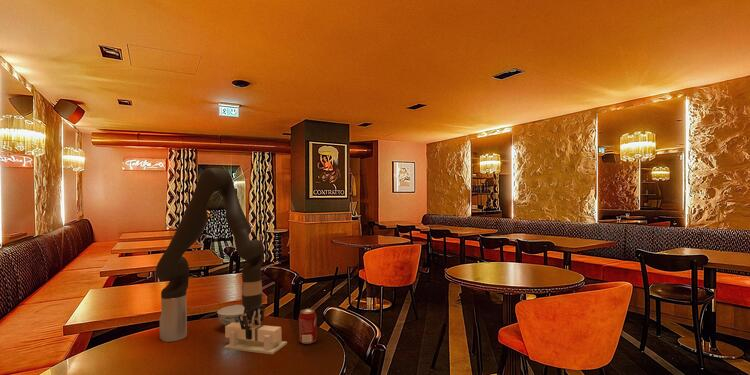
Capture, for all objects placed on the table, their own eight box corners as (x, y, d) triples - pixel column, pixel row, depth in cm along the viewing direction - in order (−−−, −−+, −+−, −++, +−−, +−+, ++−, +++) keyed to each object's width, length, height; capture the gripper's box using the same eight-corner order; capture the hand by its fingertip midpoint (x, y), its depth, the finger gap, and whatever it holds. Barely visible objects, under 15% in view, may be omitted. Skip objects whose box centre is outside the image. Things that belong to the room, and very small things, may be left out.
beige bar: (225, 337, 146) (225, 325, 146) (232, 333, 151) (232, 322, 151) (274, 343, 140) (274, 330, 140) (281, 338, 144) (281, 326, 144)
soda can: (313, 345, 144) (312, 314, 144) (296, 344, 145) (295, 313, 146) (319, 338, 151) (318, 308, 151) (303, 337, 152) (302, 308, 152)
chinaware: (212, 327, 167) (212, 309, 167) (245, 319, 177) (245, 302, 177) (225, 336, 156) (225, 317, 156) (259, 327, 166) (259, 309, 166)
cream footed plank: (224, 348, 143) (224, 332, 143) (241, 338, 153) (241, 323, 153) (272, 354, 137) (272, 337, 137) (287, 343, 146) (286, 328, 146)
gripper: (254, 287, 153) (255, 329, 153) (231, 296, 140) (232, 343, 140) (270, 288, 151) (271, 331, 151) (248, 297, 138) (249, 344, 137)
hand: (252, 336), depth 145 cm, fingers closed on beige bar, 4 cm apart
